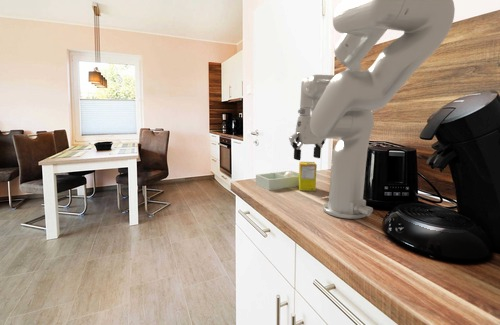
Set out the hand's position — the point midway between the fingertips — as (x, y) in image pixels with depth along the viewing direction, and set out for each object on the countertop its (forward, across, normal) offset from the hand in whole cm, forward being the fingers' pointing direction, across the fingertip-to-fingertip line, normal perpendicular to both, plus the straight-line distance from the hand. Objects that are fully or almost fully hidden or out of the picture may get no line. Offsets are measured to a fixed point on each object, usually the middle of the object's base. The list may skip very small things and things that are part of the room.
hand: (307, 158), depth 100 cm
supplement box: (+13, 0, -1) cm, 13 cm away
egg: (+12, -1, +9) cm, 15 cm away
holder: (+13, -5, +9) cm, 16 cm away
